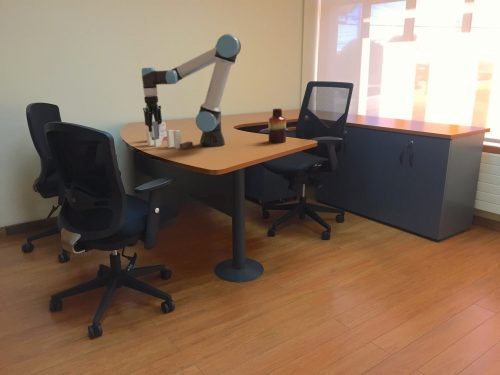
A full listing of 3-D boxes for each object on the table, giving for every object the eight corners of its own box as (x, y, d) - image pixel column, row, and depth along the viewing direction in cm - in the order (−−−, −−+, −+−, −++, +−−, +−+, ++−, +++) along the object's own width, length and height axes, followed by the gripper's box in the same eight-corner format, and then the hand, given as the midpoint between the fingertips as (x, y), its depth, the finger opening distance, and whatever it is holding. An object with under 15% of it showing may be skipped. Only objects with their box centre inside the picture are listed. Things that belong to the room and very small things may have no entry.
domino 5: (181, 146, 254) (180, 130, 252) (176, 148, 250) (175, 131, 247) (179, 146, 255) (178, 129, 252) (174, 147, 251) (173, 131, 248)
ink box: (162, 139, 281) (161, 121, 278) (167, 139, 278) (166, 121, 274) (152, 141, 274) (150, 122, 271) (157, 141, 271) (155, 123, 268)
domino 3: (161, 144, 261) (160, 128, 258) (156, 146, 256) (155, 129, 254) (159, 144, 261) (158, 128, 259) (154, 146, 257) (152, 129, 254)
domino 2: (159, 138, 249) (157, 121, 246) (153, 140, 245) (152, 122, 242) (157, 138, 250) (155, 121, 247) (151, 140, 246) (149, 122, 243)
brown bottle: (270, 143, 260) (270, 110, 254) (267, 140, 270) (267, 108, 264) (287, 142, 262) (287, 109, 256) (283, 139, 272) (283, 107, 266)
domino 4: (174, 146, 257) (173, 129, 254) (169, 147, 252) (168, 130, 249) (172, 145, 257) (171, 129, 254) (167, 147, 253) (166, 130, 250)
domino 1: (154, 144, 263) (153, 128, 260) (149, 145, 259) (148, 129, 256) (152, 144, 264) (151, 128, 261) (147, 145, 259) (146, 129, 256)
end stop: (192, 146, 253) (192, 141, 252) (184, 149, 246) (183, 144, 245) (188, 146, 255) (188, 141, 254) (179, 149, 247) (179, 144, 246)
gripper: (155, 94, 250) (159, 133, 256) (135, 97, 234) (140, 138, 241) (165, 94, 247) (169, 134, 253) (145, 97, 231) (150, 139, 238)
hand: (155, 136), depth 247 cm, fingers closed on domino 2, 5 cm apart
